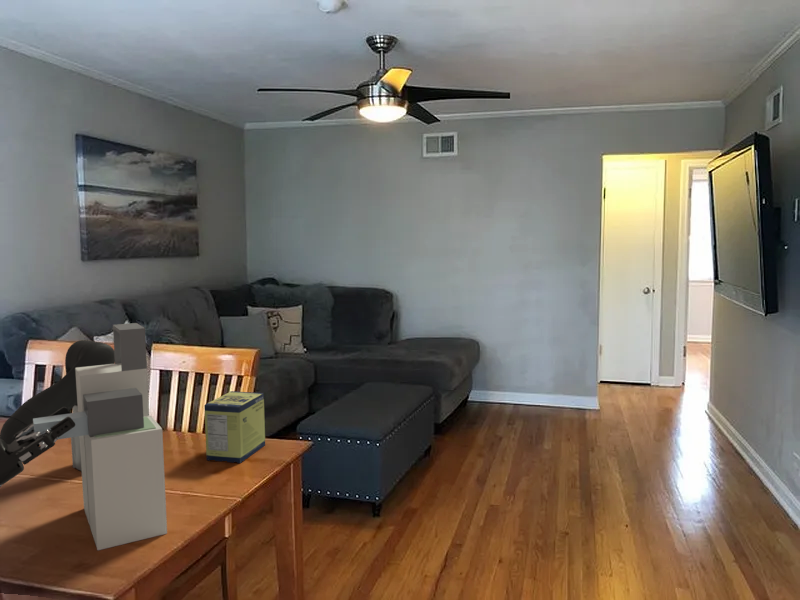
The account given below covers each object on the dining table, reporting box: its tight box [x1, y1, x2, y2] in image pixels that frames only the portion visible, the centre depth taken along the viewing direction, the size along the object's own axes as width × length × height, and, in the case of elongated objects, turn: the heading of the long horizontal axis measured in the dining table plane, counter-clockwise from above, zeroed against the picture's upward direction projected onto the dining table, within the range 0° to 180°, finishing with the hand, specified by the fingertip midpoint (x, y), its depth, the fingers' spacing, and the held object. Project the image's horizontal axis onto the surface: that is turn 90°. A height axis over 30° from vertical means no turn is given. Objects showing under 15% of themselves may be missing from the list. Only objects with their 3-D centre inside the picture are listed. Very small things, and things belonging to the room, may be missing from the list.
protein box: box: [203, 390, 266, 464], centre depth 179 cm, size 10×16×16 cm
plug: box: [33, 388, 144, 441], centre depth 127 cm, size 19×7×7 cm, turn 122°
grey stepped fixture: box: [75, 322, 168, 551], centre depth 136 cm, size 13×22×41 cm, turn 32°
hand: (70, 415), depth 125 cm, fingers open, 8 cm apart
